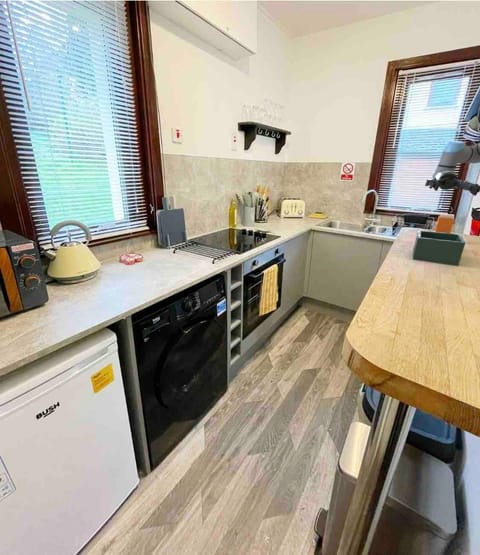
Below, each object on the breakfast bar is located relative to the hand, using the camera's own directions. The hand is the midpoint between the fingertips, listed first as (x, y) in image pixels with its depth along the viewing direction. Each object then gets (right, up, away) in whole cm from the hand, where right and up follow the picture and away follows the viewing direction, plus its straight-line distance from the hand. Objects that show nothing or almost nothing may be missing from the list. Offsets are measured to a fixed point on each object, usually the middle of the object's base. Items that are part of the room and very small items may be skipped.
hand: (456, 189), depth 111 cm
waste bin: (-21, -29, -16) cm, 39 cm away
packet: (-5, -21, +3) cm, 21 cm away
